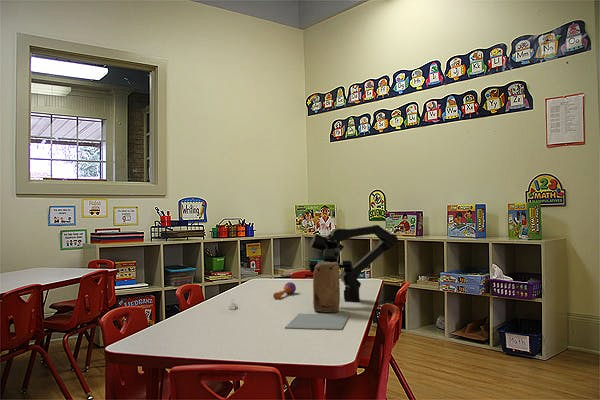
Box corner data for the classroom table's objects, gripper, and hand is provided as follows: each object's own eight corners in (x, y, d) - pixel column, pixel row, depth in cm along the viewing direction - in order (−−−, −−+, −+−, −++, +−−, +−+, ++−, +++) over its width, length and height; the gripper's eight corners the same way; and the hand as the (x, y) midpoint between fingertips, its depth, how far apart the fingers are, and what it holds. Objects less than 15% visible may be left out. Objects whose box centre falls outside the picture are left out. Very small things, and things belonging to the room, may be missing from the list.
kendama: (269, 291, 233) (285, 281, 252) (272, 303, 233) (288, 293, 252) (280, 289, 231) (296, 280, 250) (283, 301, 231) (298, 291, 250)
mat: (349, 315, 191) (349, 314, 191) (341, 329, 168) (341, 328, 168) (298, 314, 195) (298, 313, 195) (284, 328, 172) (284, 327, 172)
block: (341, 310, 202) (340, 261, 203) (338, 313, 195) (337, 263, 196) (315, 309, 205) (314, 261, 206) (311, 313, 198) (310, 263, 198)
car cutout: (227, 307, 215) (227, 297, 215) (242, 308, 214) (242, 297, 214) (216, 314, 200) (216, 303, 201) (232, 315, 199) (231, 304, 199)
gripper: (309, 242, 217) (304, 270, 206) (351, 241, 213) (349, 270, 202) (312, 258, 225) (308, 286, 214) (353, 258, 221) (351, 286, 210)
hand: (329, 282), depth 210 cm, fingers closed
